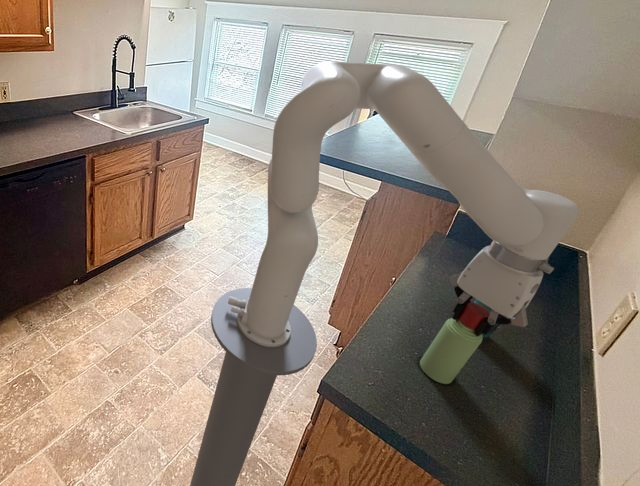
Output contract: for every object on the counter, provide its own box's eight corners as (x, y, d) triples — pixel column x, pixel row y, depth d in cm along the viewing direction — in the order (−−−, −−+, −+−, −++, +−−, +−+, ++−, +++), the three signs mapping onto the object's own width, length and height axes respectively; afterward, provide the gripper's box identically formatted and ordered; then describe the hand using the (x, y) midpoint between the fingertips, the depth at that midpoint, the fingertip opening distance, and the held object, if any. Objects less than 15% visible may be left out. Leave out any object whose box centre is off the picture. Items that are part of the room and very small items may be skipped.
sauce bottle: (422, 376, 83) (463, 317, 74) (417, 353, 88) (454, 295, 80) (456, 388, 81) (501, 329, 73) (448, 364, 87) (490, 306, 78)
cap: (486, 328, 77) (495, 315, 75) (473, 332, 75) (482, 319, 74) (466, 313, 80) (475, 300, 78) (454, 317, 79) (462, 304, 77)
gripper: (582, 280, 64) (524, 352, 73) (477, 226, 77) (438, 293, 86) (562, 290, 61) (504, 364, 70) (456, 233, 74) (418, 301, 83)
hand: (468, 324), depth 78 cm, fingers closed on cap, 3 cm apart
